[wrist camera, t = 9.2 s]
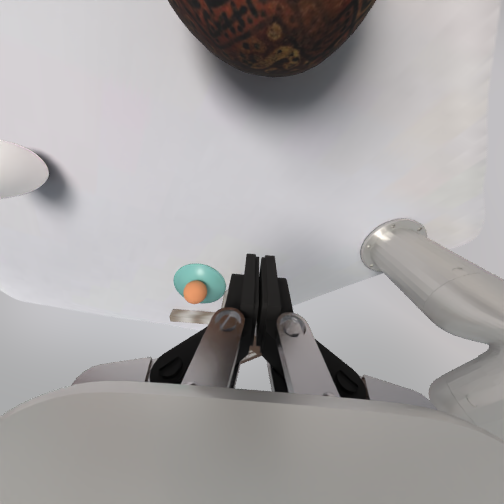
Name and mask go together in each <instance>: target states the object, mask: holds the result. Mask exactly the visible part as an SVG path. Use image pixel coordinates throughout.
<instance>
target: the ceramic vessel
mask: <svg viewBox="0 0 504 504" xmlns="http://www.w3.org/2000/svg"><path fill="white" fill-rule="evenodd" d="M168 1H169V3H170V5H171V6H172V8H173V9H174V11H175V12H176V14H177V15H178V17H179V18H180V19H181V21H182V22H183V23H184V24H185V26H186V27H187V28H188V29H189V31H190V32H191V33H192V34H193V35H194V36H195V37H196V38H197V39H198V40H199V41H200V42H201V43H202V44H203V45H204V46H205V47H206V48H207V49H208V50H209V51H210V52H212V53H213V54H214V55H215V56H217V57H218V58H220V59H221V60H223V61H224V62H226V63H228V64H229V65H231V66H233V67H235V68H237V69H239V70H241V71H244V72H246V73H250V74H255V75H261V76H267V77H282V76H290V75H295V74H298V73H302V72H304V71H306V70H308V69H310V68H313V67H315V66H317V65H318V64H319V63H321V62H322V61H324V60H325V59H326V58H327V57H329V56H330V55H331V54H332V53H333V52H334V51H336V50H337V49H338V48H339V47H340V46H341V45H342V44H343V43H344V42H345V41H346V40H347V39H348V38H349V37H350V36H351V35H352V34H353V33H354V31H355V30H356V29H357V27H358V26H359V25H360V24H361V22H362V21H363V19H364V18H365V16H366V15H367V13H368V12H369V11H370V9H371V8H372V6H373V5H374V3H375V1H376V0H168Z"/></svg>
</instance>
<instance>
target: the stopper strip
mask: <svg viewBox="0 0 504 504" xmlns="http://www.w3.org/2000/svg"><path fill="white" fill-rule="evenodd" d="M214 313H215V312H203V311H190V310H178V309H173V310H172V313H171V315H170V321H173V322H186V323H199V324H209V323H210V320H211V318H212V316H213V315H214Z"/></svg>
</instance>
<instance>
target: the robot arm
mask: <svg viewBox="0 0 504 504" xmlns="http://www.w3.org/2000/svg"><path fill="white" fill-rule="evenodd" d="M361 259H362V261H363V262H364V264H365V265H366V266H367V267H368V268H370V269H372V270H374V271H379V272H384V273H385V274H386V275H387V276H388V277H389V279H391V281H392V282H393V283H395V285H396V286H397V287H398V288H400V290H401V291H402V292H404V294H405V295H406V296H407V297H408V298H409V299H410V300H411V301H412V302H413V303H414V304H415V305H416V306H417V307H418V308H419V309H420V310H421V311H423V313H424V314H425V315H426V316H427V317H428V318H429V319H430V320H431V321H432V322H433V323H435V324H436V325H437V326H438V327H440V328H441V329H443V330H445V331H446V332H448V333H450V334H453V335H455V336H458V337H462V338H465V339H469V340H472V341H476V342H481V343H485V344H488V345H489V349H488V350H487V351H486V352H484V353H483V354H481V355H479V356H478V357H477V358H475V359H473V360H471V361H469V362H467V363H465V364H463V365H462V366H460V367H458V368H456V369H454V370H452V371H450V372H448V373H446V374H444V375H442V376H441V377H439V378H438V379H436V380H435V381H434V382H433V383H432V384H431V385H430V388H429V398H430V400H428V399H427V398H426V397H424V396H423V395H422V394H420V393H418V392H416V391H414V390H411V389H408V388H404V387H401V386H398V385H395V384H392V383H389V382H386V381H383V380H379V379H376V378H373V377H370V376H367V375H363V377H361V376H359V375H358V374H357V373H356V372H355V371H354V370H353V369H352V368H350V367H349V366H348V365H347V364H345V363H344V362H343V361H342V360H340V359H339V358H338V357H337V356H335V355H334V354H333V353H332V352H330V351H329V350H328V349H327V348H325V347H324V346H323V345H322V344H320V343H319V342H318V341H317V340H316V339H314V336H313V334H312V332H311V330H310V327H309V325H308V323H307V322H306V320H305V319H304V318H303V317H301V316H299V315H298V314H295V313H293V309H292V304H291V299H290V294H289V289H288V284H287V280H286V278H277V271H276V263H275V256H268V255H265V258H264V257H262V259H261V266H260V274H259V257H256V254H247V257H246V265H245V273H244V275H241V274H232V276H231V280H230V285H229V290H228V294H227V299H226V303H225V308H222V309H220V310H218V311H217V312H215V313H214V315H213V316H212V318H211V320H210V323H209V325H208V327H206V328H204V329H203V330H201V331H200V332H198V333H196V334H195V335H193V336H192V337H190V338H188V339H187V340H185V341H184V342H182V343H180V344H179V345H177V346H176V347H174V348H172V349H171V350H169V351H168V352H166V353H164V354H163V355H162V356H160V357H159V358H157V359H152V358H151V357H147V358H140V359H134V360H127V361H120V362H113V363H107V364H100V365H97V366H94V367H91V368H90V369H88V370H86V371H84V372H83V373H82V374H81V375H80V376H78V377H77V378H76V380H75V381H74V383H73V384H72V385H71V386H68V387H64V388H60V389H57V390H54V391H51V392H48V393H45V394H42V395H40V396H37V397H35V398H32V399H30V400H28V401H26V402H24V403H21V404H19V405H18V406H16V407H14V408H12V409H11V410H9V411H7V412H6V413H4V414H3V415H2V416H0V504H504V280H503V279H501V278H499V277H498V276H496V275H494V274H492V273H490V272H488V271H486V270H484V269H483V268H481V267H479V266H477V265H476V264H473V263H472V262H470V261H468V260H466V259H464V258H463V257H461V256H459V255H457V254H455V253H454V252H452V251H450V250H448V249H447V248H445V247H443V246H441V245H439V244H437V243H436V242H434V241H432V240H430V239H428V238H427V232H426V229H425V228H424V226H422V225H421V224H420V223H418V222H416V221H414V220H411V219H396V220H392V221H389V222H387V223H384V224H383V225H381V226H379V227H378V228H376V229H375V230H374V231H373V232H372V233H370V234H369V236H368V237H367V238H366V239H365V241H364V243H363V245H362V248H361ZM255 328H256V346H260V353H262V356H263V357H264V358H265V359H266V360H267V367H268V372H269V377H270V384H271V390H272V392H270V391H258V390H246V389H235V385H236V381H237V376H238V373H239V368H240V364H241V360H243V359H244V358H245V357H246V356H247V355H248V354H249V347H250V346H253V342H254V335H255Z"/></svg>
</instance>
